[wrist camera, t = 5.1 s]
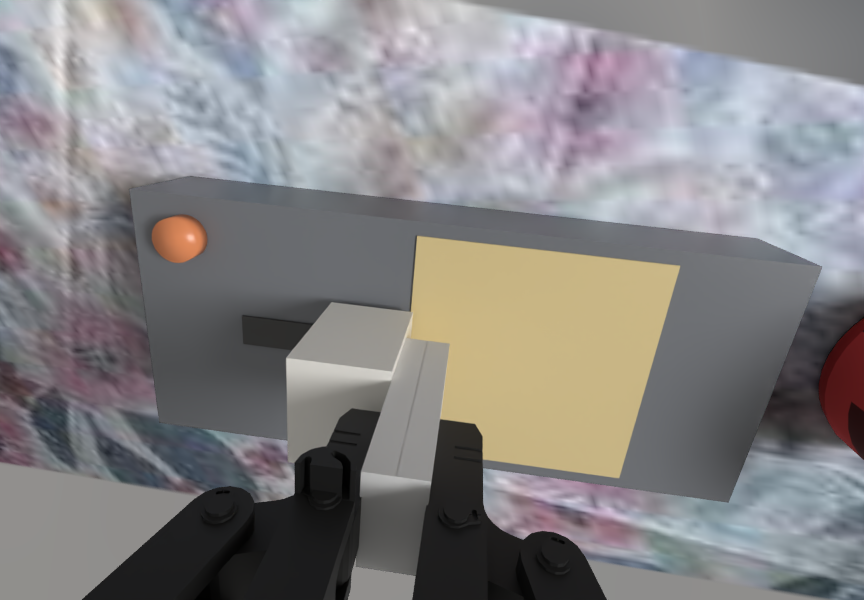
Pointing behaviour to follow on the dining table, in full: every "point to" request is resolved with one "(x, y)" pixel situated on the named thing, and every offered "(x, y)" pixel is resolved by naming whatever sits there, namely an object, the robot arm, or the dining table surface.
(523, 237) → the breaker housing
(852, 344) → the canned food
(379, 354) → the knob
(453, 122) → the dining table surface
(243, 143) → the dining table surface
